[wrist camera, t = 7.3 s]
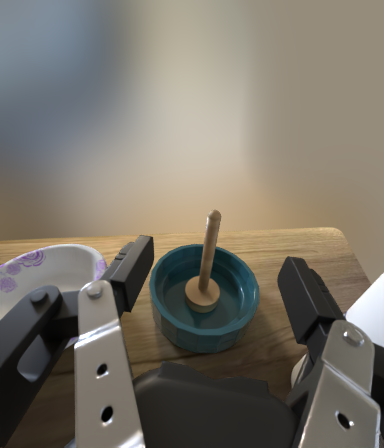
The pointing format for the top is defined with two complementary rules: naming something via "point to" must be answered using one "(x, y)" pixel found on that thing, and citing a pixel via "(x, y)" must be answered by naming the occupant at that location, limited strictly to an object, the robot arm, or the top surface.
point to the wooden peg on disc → (205, 271)
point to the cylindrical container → (363, 317)
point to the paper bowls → (49, 272)
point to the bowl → (211, 321)
